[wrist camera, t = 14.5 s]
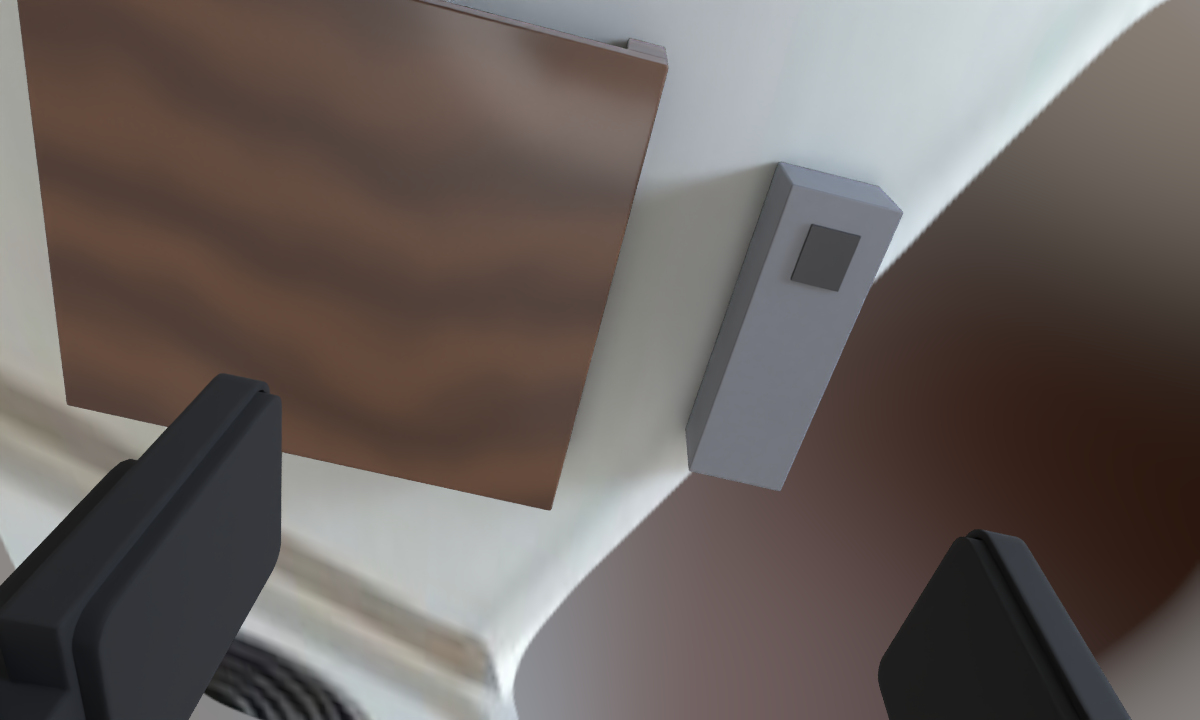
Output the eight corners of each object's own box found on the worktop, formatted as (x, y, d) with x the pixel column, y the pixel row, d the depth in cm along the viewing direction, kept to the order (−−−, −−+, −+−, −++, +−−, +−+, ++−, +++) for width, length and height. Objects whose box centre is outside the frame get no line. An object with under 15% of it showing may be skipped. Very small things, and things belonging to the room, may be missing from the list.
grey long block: (778, 160, 32) (793, 185, 29) (880, 186, 33) (905, 213, 29) (684, 429, 39) (688, 473, 36) (770, 449, 39) (781, 494, 36)
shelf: (99, -102, 29) (2, -109, 25) (665, 47, 30) (669, 65, 26) (131, 352, 38) (66, 405, 34) (561, 448, 40) (550, 511, 36)
